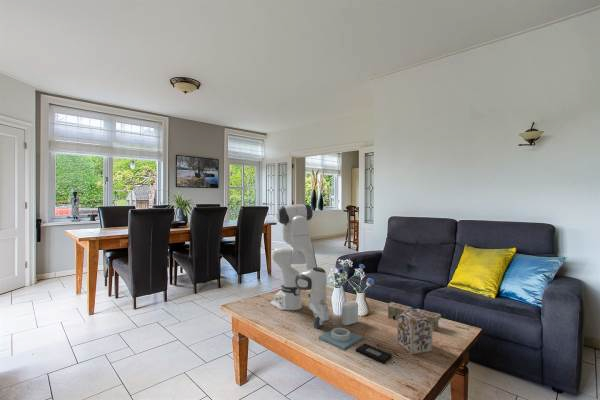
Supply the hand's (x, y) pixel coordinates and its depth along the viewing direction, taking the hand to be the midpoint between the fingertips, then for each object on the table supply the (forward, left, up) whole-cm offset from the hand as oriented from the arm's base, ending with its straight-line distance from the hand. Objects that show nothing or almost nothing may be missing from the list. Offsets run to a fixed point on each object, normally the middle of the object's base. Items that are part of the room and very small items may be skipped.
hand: (318, 322), depth 166 cm
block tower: (+33, +44, -3) cm, 55 cm away
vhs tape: (+37, -3, -4) cm, 37 cm away
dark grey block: (0, 0, -3) cm, 3 cm away
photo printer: (+9, +17, -3) cm, 19 cm away
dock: (+17, -2, -3) cm, 17 cm away
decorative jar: (+47, +17, -3) cm, 50 cm away
